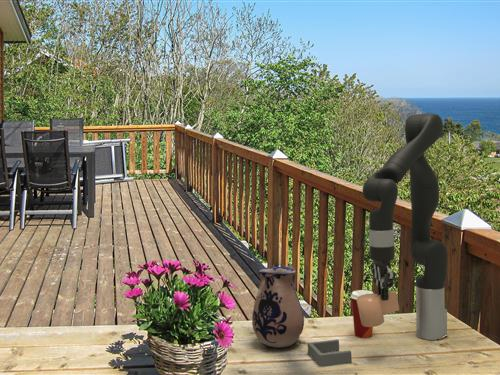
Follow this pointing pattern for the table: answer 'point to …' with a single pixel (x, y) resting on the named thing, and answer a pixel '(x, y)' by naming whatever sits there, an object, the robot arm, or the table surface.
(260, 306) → the ceramic pitcher
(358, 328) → the coffee cup
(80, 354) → the table surface
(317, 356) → the charcoal holder
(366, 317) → the peach mallet
